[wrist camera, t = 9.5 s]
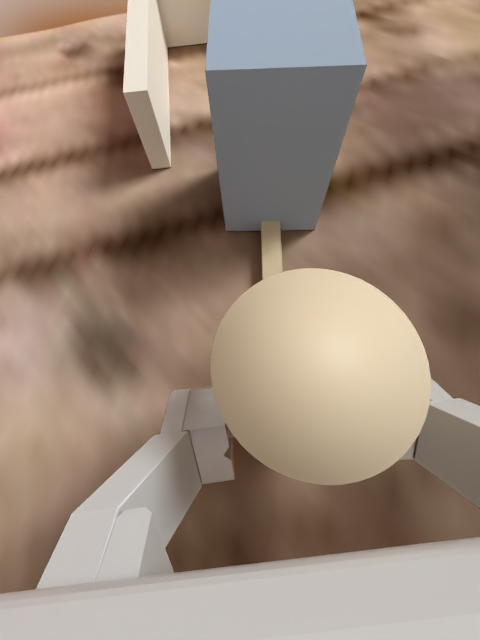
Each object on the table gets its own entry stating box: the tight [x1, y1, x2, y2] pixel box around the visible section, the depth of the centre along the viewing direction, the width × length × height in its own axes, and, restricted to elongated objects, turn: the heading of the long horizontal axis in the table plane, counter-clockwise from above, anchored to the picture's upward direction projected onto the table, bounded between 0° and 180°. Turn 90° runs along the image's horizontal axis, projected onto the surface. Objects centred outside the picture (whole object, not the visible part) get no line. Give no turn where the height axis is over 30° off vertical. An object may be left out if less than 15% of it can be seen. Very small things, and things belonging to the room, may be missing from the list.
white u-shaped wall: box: [123, 0, 210, 169], centre depth 19 cm, size 14×11×4 cm
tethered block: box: [205, 0, 431, 485], centre depth 11 cm, size 16×5×9 cm, turn 0°
